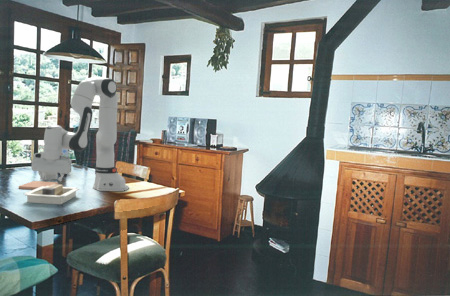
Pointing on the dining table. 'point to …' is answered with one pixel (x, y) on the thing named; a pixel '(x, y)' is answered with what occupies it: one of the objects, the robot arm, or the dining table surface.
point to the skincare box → (49, 175)
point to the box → (53, 190)
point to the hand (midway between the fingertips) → (51, 180)
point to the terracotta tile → (36, 184)
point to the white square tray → (50, 196)
